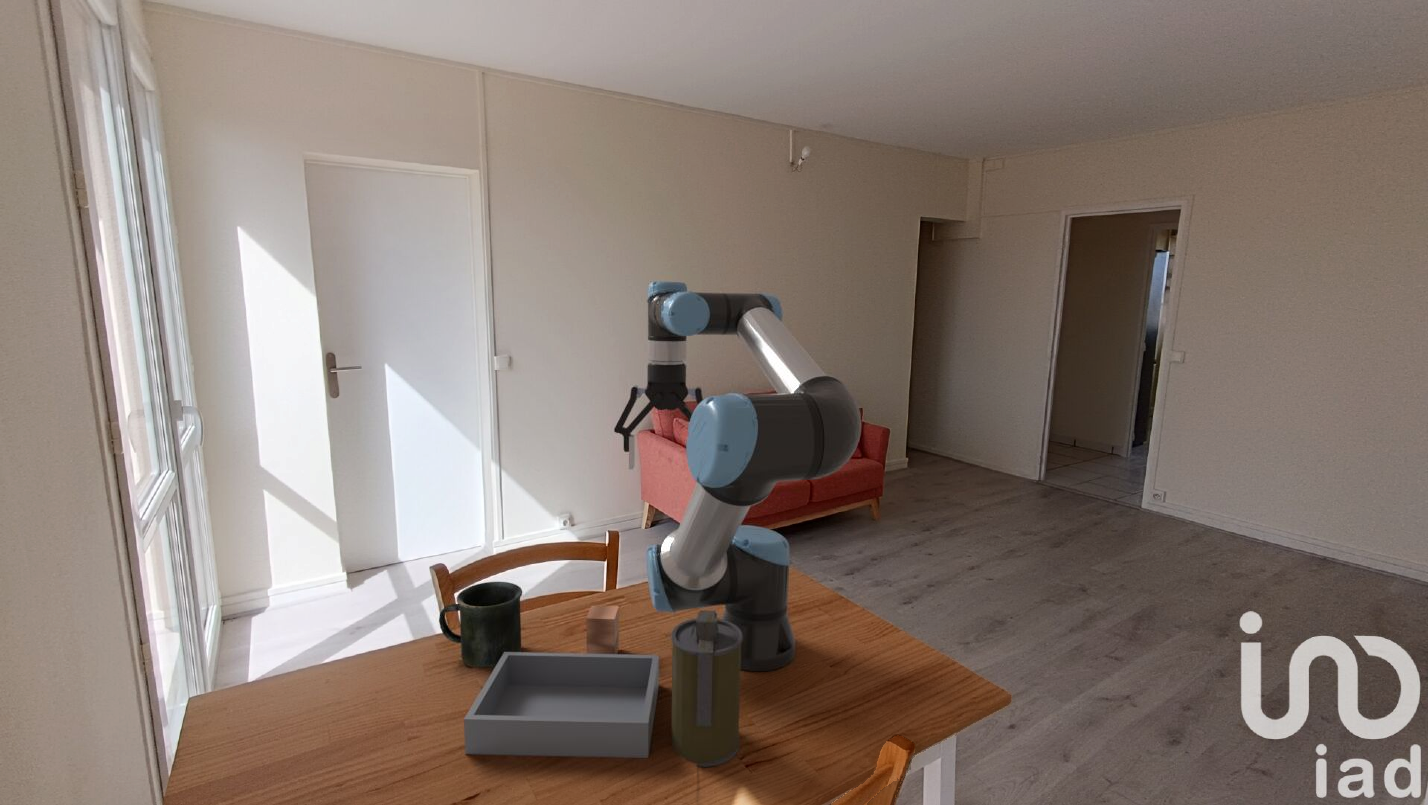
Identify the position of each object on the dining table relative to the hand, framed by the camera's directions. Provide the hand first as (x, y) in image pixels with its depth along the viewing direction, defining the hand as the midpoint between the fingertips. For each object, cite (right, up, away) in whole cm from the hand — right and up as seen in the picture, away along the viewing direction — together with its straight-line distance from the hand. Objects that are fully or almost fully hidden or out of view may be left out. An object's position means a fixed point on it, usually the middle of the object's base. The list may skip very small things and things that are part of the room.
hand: (665, 468), depth 132 cm
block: (-11, -34, -11) cm, 37 cm away
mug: (-33, -33, -11) cm, 48 cm away
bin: (-13, -36, -29) cm, 48 cm away
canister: (+8, -38, -34) cm, 51 cm away
